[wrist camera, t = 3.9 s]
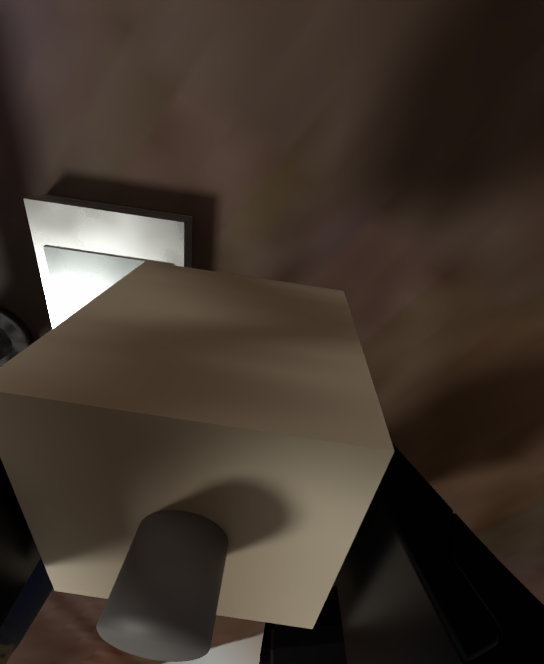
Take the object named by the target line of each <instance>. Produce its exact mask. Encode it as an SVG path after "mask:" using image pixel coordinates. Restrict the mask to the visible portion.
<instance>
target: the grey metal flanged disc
mask: <svg viewBox="0 0 544 664" xmlns="http://www.w3.org/2000/svg"><path fill="white" fill-rule="evenodd" d="M31 344H33V339H32V336H31V334H30V332H29V330H28V328H27V327H26V326H25V324H24V323H23V322H22V321H21V320H20V319H19V318H18V317H16V316H15V315H14V314H12V313H11V312H9V311H7V310H5V309H3V308H1V307H0V367H1V366H2V365H4V364H5V363H7V362H8V361H9V360H11V359H12V358H13V357H15V356H16V355H17V354H19V353H20V352H22V351H23V350H24V349H26V348H27V347H28V346H30V345H31Z"/></svg>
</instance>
